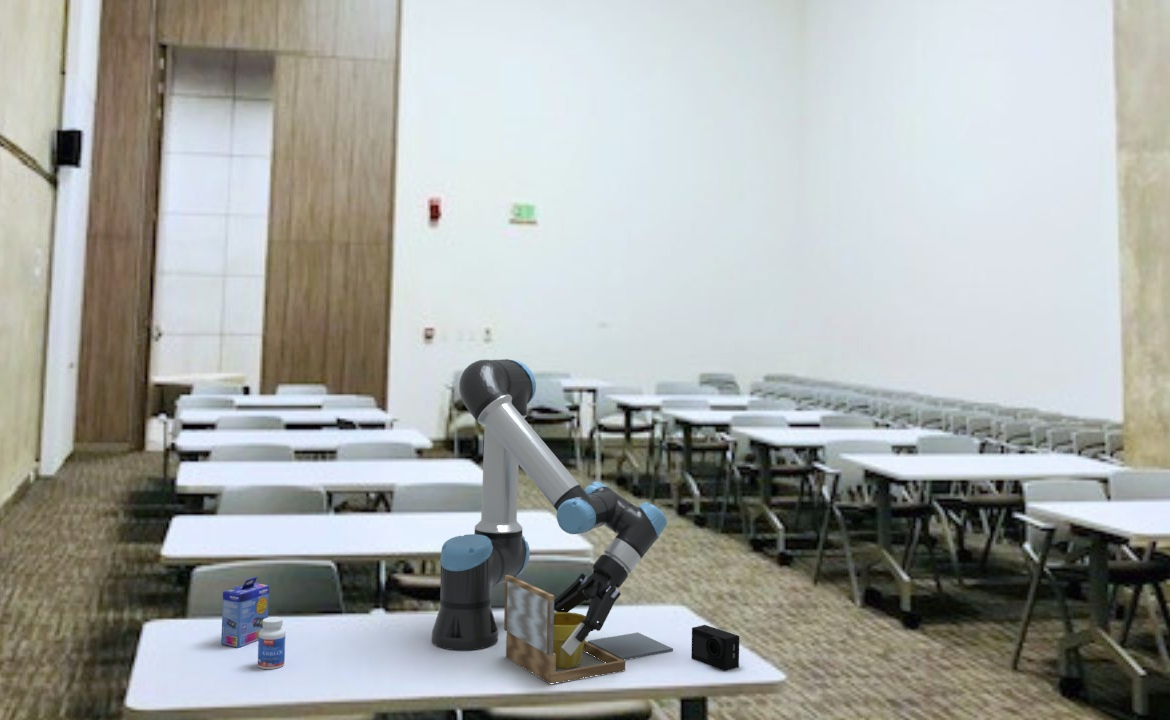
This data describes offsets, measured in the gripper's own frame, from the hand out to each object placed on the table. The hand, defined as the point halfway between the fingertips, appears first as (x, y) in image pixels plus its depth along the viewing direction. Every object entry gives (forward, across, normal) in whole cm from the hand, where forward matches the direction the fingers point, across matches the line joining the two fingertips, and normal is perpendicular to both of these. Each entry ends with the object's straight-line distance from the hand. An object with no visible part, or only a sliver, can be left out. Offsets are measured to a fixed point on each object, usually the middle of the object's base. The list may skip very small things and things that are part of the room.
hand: (552, 644), depth 208 cm
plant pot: (+1, 0, -6) cm, 6 cm away
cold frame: (+1, 0, -5) cm, 5 cm away
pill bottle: (+40, +28, +33) cm, 59 cm away
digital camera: (-19, -15, -26) cm, 35 cm away
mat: (-12, +3, -19) cm, 23 cm away
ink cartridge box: (+41, +48, +34) cm, 72 cm away
